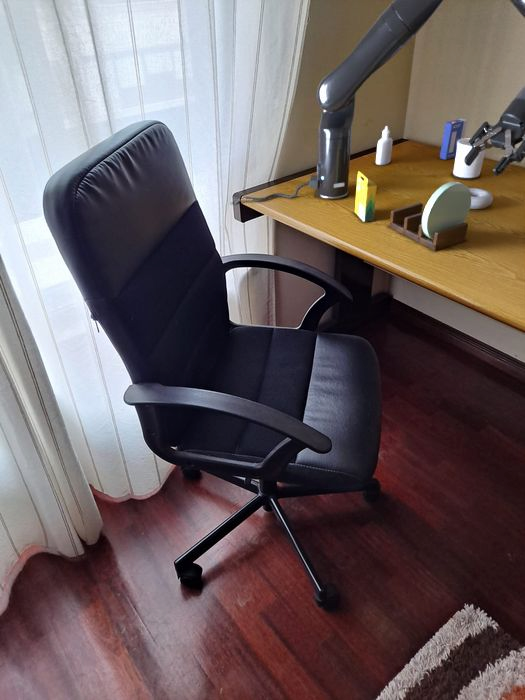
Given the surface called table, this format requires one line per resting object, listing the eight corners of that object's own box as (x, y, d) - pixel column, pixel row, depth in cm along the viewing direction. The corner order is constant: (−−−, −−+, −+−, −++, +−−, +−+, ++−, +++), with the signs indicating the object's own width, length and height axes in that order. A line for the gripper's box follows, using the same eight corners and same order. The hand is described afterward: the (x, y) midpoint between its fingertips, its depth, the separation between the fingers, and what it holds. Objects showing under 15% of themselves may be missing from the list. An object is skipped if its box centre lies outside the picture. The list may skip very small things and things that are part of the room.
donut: (496, 202, 141) (462, 194, 146) (499, 190, 139) (464, 183, 144) (483, 214, 135) (448, 206, 140) (486, 202, 133) (450, 194, 138)
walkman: (445, 159, 171) (452, 122, 164) (439, 158, 173) (445, 121, 166) (461, 155, 175) (468, 118, 167) (455, 153, 176) (461, 117, 169)
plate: (417, 246, 122) (426, 188, 113) (458, 232, 127) (470, 176, 118) (422, 249, 121) (432, 191, 112) (464, 235, 126) (476, 178, 117)
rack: (389, 227, 132) (391, 210, 129) (417, 218, 135) (420, 202, 132) (434, 250, 120) (437, 233, 117) (464, 240, 123) (468, 223, 121)
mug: (483, 180, 155) (490, 146, 148) (453, 180, 156) (459, 146, 150) (476, 168, 163) (483, 135, 157) (448, 168, 165) (454, 136, 158)
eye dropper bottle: (373, 161, 173) (376, 125, 166) (388, 160, 174) (392, 123, 166) (377, 165, 170) (380, 128, 163) (393, 164, 171) (397, 127, 163)
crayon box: (374, 221, 135) (378, 178, 128) (363, 222, 135) (367, 179, 127) (364, 210, 141) (367, 169, 134) (354, 212, 140) (357, 170, 133)
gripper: (496, 92, 116) (451, 151, 119) (550, 102, 106) (499, 167, 109) (506, 113, 121) (463, 169, 124) (559, 124, 111) (510, 186, 114)
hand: (480, 168), depth 117 cm, fingers open, 8 cm apart
